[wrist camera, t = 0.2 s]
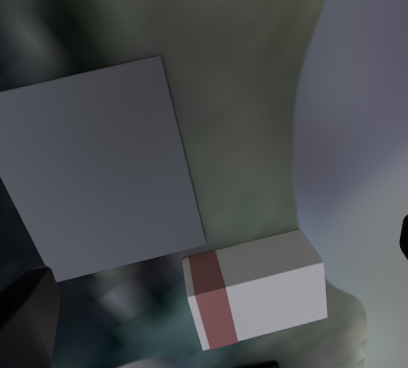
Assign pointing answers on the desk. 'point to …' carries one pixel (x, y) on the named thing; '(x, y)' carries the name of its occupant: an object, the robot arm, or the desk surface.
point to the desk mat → (99, 168)
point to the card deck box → (255, 288)
